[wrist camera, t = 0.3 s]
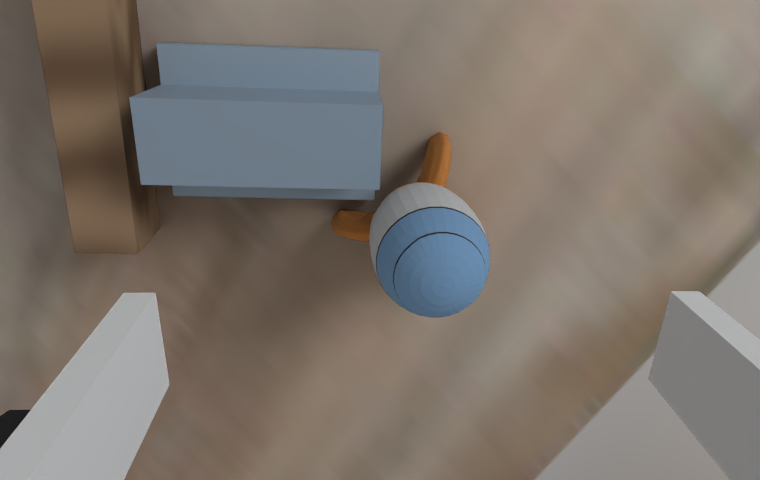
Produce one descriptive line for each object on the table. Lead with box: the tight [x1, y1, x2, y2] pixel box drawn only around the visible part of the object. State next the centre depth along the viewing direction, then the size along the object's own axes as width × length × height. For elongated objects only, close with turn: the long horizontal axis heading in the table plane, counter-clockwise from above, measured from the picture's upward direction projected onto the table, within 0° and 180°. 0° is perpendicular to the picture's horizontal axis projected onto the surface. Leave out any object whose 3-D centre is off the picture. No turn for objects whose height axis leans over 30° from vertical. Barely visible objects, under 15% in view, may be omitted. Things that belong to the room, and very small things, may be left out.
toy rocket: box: [331, 132, 490, 317], centre depth 35 cm, size 10×11×15 cm
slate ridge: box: [129, 42, 383, 200], centre depth 35 cm, size 10×14×7 cm
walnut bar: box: [31, 0, 160, 254], centre depth 34 cm, size 24×4×5 cm, turn 177°
